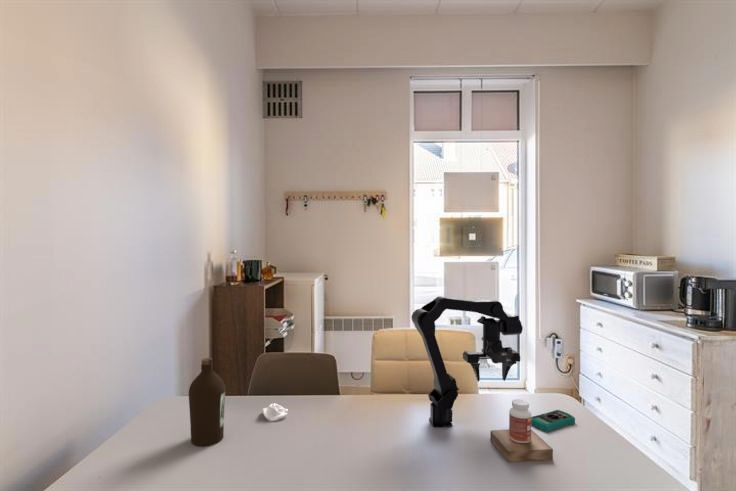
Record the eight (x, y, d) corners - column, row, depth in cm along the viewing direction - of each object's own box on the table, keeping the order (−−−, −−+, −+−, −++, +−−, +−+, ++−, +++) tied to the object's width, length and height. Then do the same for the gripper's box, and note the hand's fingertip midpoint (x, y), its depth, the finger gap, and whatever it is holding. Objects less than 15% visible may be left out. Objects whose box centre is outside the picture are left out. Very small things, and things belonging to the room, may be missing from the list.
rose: (254, 405, 148) (272, 396, 157) (254, 418, 148) (272, 408, 157) (277, 411, 143) (294, 401, 152) (277, 424, 143) (294, 413, 152)
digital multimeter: (576, 424, 144) (576, 415, 144) (546, 433, 137) (546, 424, 137) (558, 416, 151) (558, 408, 151) (528, 424, 144) (528, 416, 144)
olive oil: (188, 450, 125) (187, 365, 125) (189, 434, 135) (189, 356, 135) (226, 444, 129) (225, 362, 128) (225, 429, 139) (224, 353, 138)
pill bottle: (531, 445, 122) (532, 407, 122) (509, 442, 124) (509, 404, 124) (530, 436, 128) (531, 399, 128) (509, 433, 130) (509, 397, 130)
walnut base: (508, 462, 119) (508, 451, 119) (490, 440, 132) (490, 430, 132) (552, 459, 120) (552, 449, 120) (530, 437, 133) (530, 428, 133)
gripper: (473, 342, 139) (473, 390, 139) (528, 340, 141) (528, 388, 141) (462, 334, 150) (462, 378, 150) (513, 333, 152) (512, 377, 152)
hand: (491, 380), depth 148 cm, fingers open, 9 cm apart
